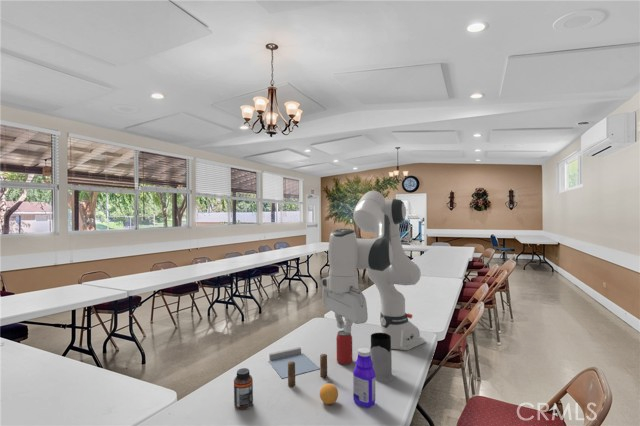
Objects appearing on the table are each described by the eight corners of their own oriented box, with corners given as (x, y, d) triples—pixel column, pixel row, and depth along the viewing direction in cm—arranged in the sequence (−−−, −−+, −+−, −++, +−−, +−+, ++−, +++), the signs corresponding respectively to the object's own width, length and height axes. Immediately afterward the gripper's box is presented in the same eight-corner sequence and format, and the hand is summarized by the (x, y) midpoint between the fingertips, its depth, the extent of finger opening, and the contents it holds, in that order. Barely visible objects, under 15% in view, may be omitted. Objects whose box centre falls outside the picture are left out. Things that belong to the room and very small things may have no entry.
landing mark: (303, 353, 145) (303, 353, 145) (320, 368, 131) (320, 368, 131) (268, 361, 138) (268, 361, 138) (282, 378, 124) (282, 378, 124)
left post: (293, 382, 121) (293, 360, 121) (296, 385, 119) (296, 363, 119) (287, 384, 120) (286, 362, 120) (289, 387, 118) (289, 365, 117)
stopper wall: (299, 352, 147) (299, 347, 147) (301, 353, 145) (301, 348, 145) (269, 359, 140) (269, 353, 140) (270, 360, 139) (270, 354, 139)
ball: (332, 395, 112) (332, 378, 112) (341, 405, 107) (341, 386, 107) (316, 400, 109) (316, 382, 109) (325, 410, 104) (324, 391, 104)
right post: (325, 374, 127) (325, 353, 127) (328, 377, 125) (328, 356, 125) (319, 375, 126) (318, 354, 126) (322, 378, 123) (322, 357, 123)
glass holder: (367, 379, 123) (366, 338, 123) (375, 362, 136) (374, 326, 136) (390, 383, 120) (390, 342, 120) (396, 366, 133) (396, 328, 133)
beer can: (351, 365, 134) (351, 336, 134) (335, 364, 135) (335, 335, 135) (353, 358, 140) (352, 330, 140) (337, 357, 142) (337, 329, 141)
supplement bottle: (235, 400, 110) (235, 366, 110) (254, 399, 110) (253, 365, 110) (232, 411, 104) (232, 375, 104) (251, 410, 105) (251, 374, 104)
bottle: (378, 403, 107) (378, 350, 107) (369, 411, 103) (368, 355, 103) (360, 395, 112) (359, 344, 112) (350, 402, 108) (349, 349, 108)
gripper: (372, 289, 91) (373, 339, 91) (335, 276, 109) (336, 318, 109) (353, 292, 88) (354, 344, 88) (318, 278, 106) (319, 321, 106)
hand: (344, 329), depth 99 cm, fingers open, 2 cm apart
